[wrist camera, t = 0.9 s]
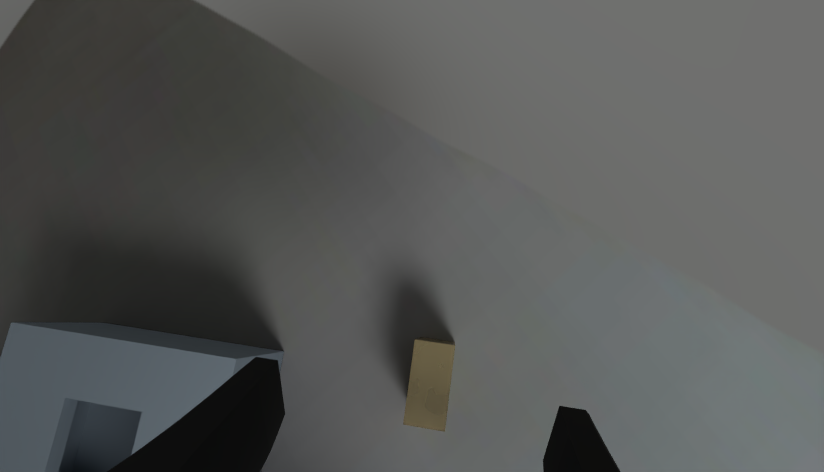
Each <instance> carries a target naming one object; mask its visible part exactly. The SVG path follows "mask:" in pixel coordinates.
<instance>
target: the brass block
mask: <svg viewBox="0 0 824 472" xmlns="http://www.w3.org/2000/svg"><path fill="white" fill-rule="evenodd" d="M454 350H455V342H450V341H443V340H437V339H430V338H423V337H420V338H417V339H415V342H414V349H413V356H412V364H411V371H410V378H409V386H408V393H407V400H406V408H405V415H404V422H403V424H404V425H410V426H415V427H421V428H427V429H432V430H438V431H444V432H445V426H446V417H447V409H448V400H449V392H450V384H451V375H452V367H453V359H454Z"/></svg>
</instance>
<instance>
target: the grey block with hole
mask: <svg viewBox="0 0 824 472" xmlns="http://www.w3.org/2000/svg"><path fill="white" fill-rule="evenodd" d="M283 354H284V351H278V350H272V349H266V348H259V347H253V346H247V345H241V344H234V343H228V342H222V341H215V340H209V339H203V338H197V337H190V336H184V335H178V334H172V333H165V332H159V331H153V330H146V329H140V328H134V327H128V326H121V325H115V324H109V323H79V322H11V325H10V328H9V332H8V335H7V338H6V341H5V345H4V348H3V351H2V354H1V357H0V472H107V471H108V470H110V469H111V468H113V467H114V466H116V465H117V464H119V463H120V462H122V461H123V460H125V459H126V458H128V457H129V456H130V455H132V454H133V453H135V452H136V451H138V450H139V449H140V448H142V447H143V446H145V445H146V444H147V443H149V442H150V441H151V440H153V439H154V438H155V437H157V436H158V435H159V434H161V433H162V432H163V431H165V430H166V429H167V428H169V427H170V426H171V425H173V424H174V423H175V422H177V421H178V420H179V419H181V418H182V417H183V416H184V415H186V414H187V413H188V412H189V411H191V410H192V409H193V408H194V407H196V406H197V405H198V404H199V403H201V402H202V401H203V400H204V399H206V398H207V397H208V396H209V395H210V394H212V393H213V392H214V391H215V390H216V389H218V388H219V387H220V386H221V385H222V384H224V383H225V382H226V381H227V380H228V379H230V378H231V377H232V376H233V375H234V374H236V373H237V372H238V371H239V370H240V369H242V368H243V367H244V366H245V365H246V364H248V363H249V362H250V361H251V360H252V359H254V358H255V357H261V358H267V359H274V360H278V364H279V372H280V369H281V364H282V359H283ZM260 472H261V471H260Z"/></svg>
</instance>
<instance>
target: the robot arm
mask: <svg viewBox="0 0 824 472" xmlns="http://www.w3.org/2000/svg"><path fill="white" fill-rule="evenodd" d="M284 415H285V410H284V403H283V395H282V387H281V380H280V372H279V364H278V360H274V359H267V358H261V357H255V358H254V359H252V360H251V361H250V362H249V363H248V364H246V365H245V366H244V367H243V368H242V369H240V370H239V371H238V372H237V373H236V374H234V375H233V376H232V377H231V378H230V379H228V380H227V381H226V382H225V383H224V384H222V385H221V386H220V387H219V388H218V389H216V390H215V391H214V392H213V393H212V394H210V395H209V396H208V397H207V398H206V399H204V400H203V401H202V402H201V403H199V404H198V405H197V406H196V407H194V408H193V409H192V410H191V411H189V412H188V413H187V414H186V415H184V416H183V417H182V418H181V419H179V420H178V421H177V422H175V423H174V424H173V425H171V426H170V427H169V428H167V429H166V430H165V431H163V432H162V433H161V434H159V435H158V436H157V437H155V438H154V439H153V440H151V441H150V442H149V443H147V444H146V445H145V446H143V447H142V448H140V449H139V450H138V451H136V452H135V453H133V454H132V455H130V456H129V457H128V458H126V459H125V460H123V461H122V462H120V463H119V464H117V465H116V466H114V467H113V468H111V469H110V470H108V471H107V472H260V471H261V469H262V467H263V465H264V463H265V461H266V459H267V457H268V455H269V453H270V451H271V448H272V446H273V444H274V441H275V439H276V436H277V434H278V431H279V428H280V426H281V423H282V420H283V418H284ZM543 468H544V472H620V470H619V468H618V467H617V465H616V463H615V461H614V460H613V458H612V456H611V454H610V453H609V451H608V449H607V447H606V445H605V444H604V442H603V440H602V438H601V436H600V434H599V432H598V431H597V429H596V427H595V425H594V423H593V421H592V419H591V417H590V415H589V414H588V412H587V411H586V410H582V409H576V408H569V407H563V406H559V409H558V413H557V416H556V419H555V423H554V426H553V429H552V432H551V436H550V439H549V442H548V446H547V449H546V452H545V455H544V459H543Z"/></svg>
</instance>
